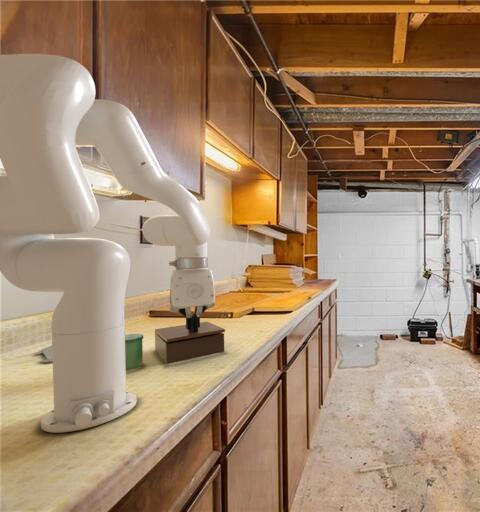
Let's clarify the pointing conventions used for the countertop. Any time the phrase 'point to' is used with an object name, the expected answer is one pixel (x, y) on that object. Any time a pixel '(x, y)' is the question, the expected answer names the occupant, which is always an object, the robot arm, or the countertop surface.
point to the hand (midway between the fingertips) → (193, 331)
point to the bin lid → (187, 332)
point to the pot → (133, 350)
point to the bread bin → (189, 347)
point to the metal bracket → (46, 354)
